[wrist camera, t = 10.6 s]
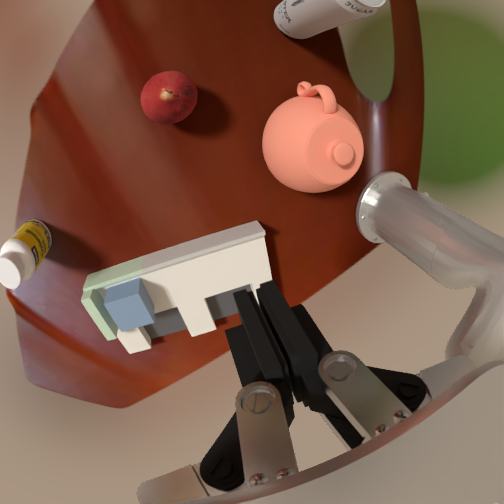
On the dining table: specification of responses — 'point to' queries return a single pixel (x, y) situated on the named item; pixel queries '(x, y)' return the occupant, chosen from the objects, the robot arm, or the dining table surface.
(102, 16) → the dining table surface
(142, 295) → the block
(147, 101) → the onion
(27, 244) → the supplement bottle
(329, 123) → the sugar bowl
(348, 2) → the energy drink can
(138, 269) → the box
